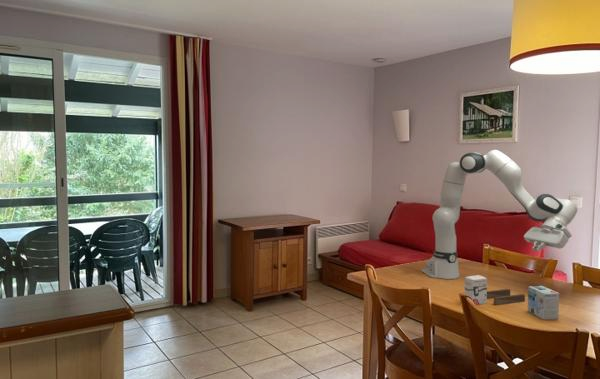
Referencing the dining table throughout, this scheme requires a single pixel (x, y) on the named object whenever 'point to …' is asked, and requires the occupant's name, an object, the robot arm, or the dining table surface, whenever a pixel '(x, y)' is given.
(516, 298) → the walnut chute
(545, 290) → the light bulb box
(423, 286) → the dining table surface
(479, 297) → the ink box
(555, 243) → the robot arm
